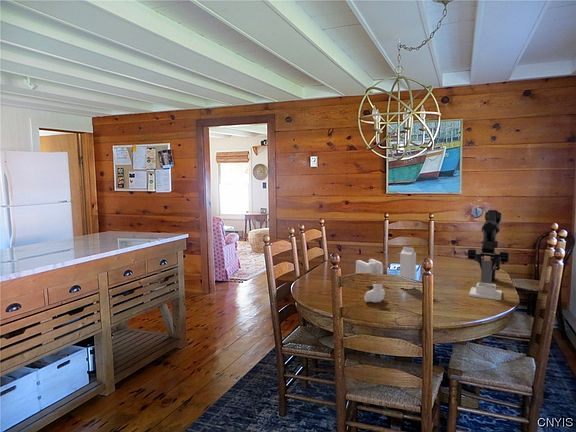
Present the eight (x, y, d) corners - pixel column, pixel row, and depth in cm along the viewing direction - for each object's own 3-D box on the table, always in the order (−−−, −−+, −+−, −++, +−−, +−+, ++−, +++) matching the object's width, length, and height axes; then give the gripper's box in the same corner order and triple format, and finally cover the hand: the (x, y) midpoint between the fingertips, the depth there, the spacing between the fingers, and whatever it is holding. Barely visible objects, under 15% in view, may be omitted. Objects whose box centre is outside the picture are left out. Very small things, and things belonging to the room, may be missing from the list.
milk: (404, 286, 221) (405, 245, 219) (415, 288, 217) (416, 247, 215) (399, 288, 217) (400, 247, 215) (410, 290, 213) (411, 248, 211)
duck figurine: (366, 308, 192) (376, 293, 185) (358, 295, 197) (367, 280, 190) (385, 304, 198) (396, 289, 191) (376, 291, 203) (387, 277, 196)
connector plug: (481, 280, 207) (482, 255, 206) (491, 281, 205) (492, 256, 204) (480, 282, 203) (482, 256, 202) (490, 283, 201) (491, 257, 200)
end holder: (471, 289, 214) (472, 280, 214) (501, 292, 208) (502, 283, 207) (468, 296, 202) (469, 286, 202) (500, 300, 195) (501, 290, 195)
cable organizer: (383, 284, 225) (384, 263, 224) (366, 285, 223) (366, 264, 221) (371, 277, 240) (371, 258, 239) (354, 278, 237) (354, 259, 236)
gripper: (468, 233, 210) (465, 258, 201) (509, 236, 201) (508, 262, 192) (469, 246, 217) (466, 270, 209) (509, 249, 208) (507, 275, 200)
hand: (486, 269), depth 202 cm, fingers closed on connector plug, 4 cm apart
